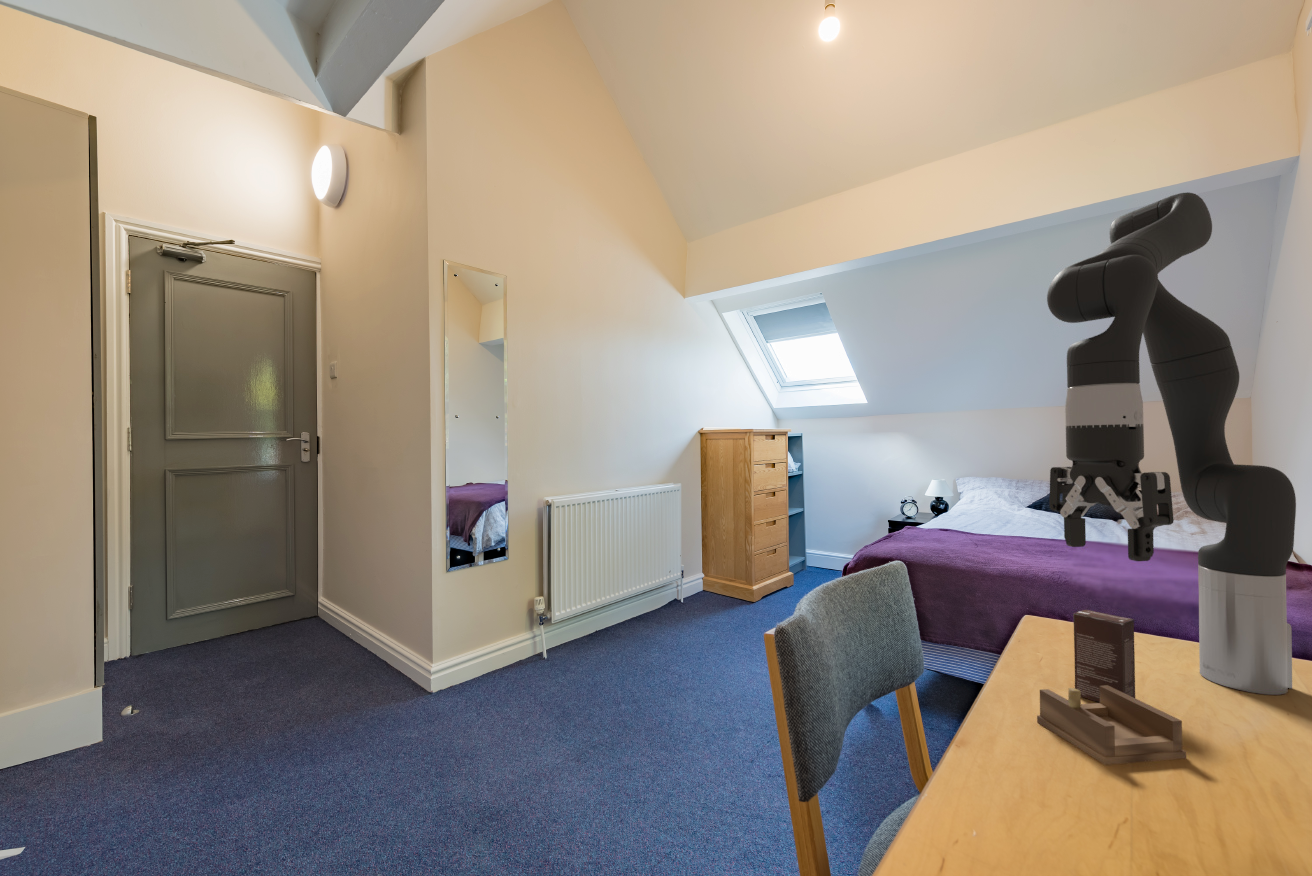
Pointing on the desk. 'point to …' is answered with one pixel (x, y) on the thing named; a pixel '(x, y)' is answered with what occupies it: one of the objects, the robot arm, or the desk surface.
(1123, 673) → the box
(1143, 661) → the desk surface
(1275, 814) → the desk surface
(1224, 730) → the desk surface
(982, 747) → the desk surface
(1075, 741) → the drawer
